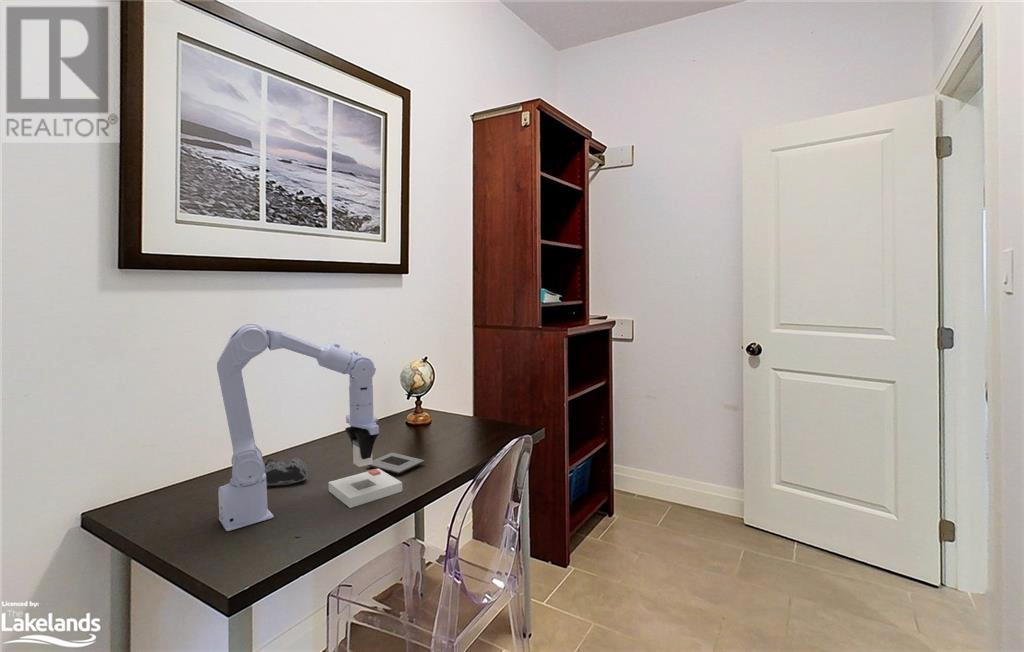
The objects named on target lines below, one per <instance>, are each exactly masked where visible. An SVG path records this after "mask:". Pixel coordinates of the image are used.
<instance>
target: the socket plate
mask: <svg viewBox="0 0 1024 652" xmlns="http://www.w3.org/2000/svg"><path fill="white" fill-rule="evenodd" d="M328 492H329V493H331V494H332V495H333V496H334V497H336V498H337V499H338V500H339V501H341V502H342V503H343V504H344V505H345V506H347V507H348V508H349V509H351V508H354V507H358V506H360V505H363V504H368V503H370V502H373V501H376V500H380V499H383V498H386V497H389V496H393V495H395V494H398V493H401V492H403V482H402V481H401V480H399V479H398V478H395V477H394V476H392V475H390V474H389V473H387V472H385V470H382V469H378V468H373V469H369V470H367V471H365V472H364V471H363V472H361V473H357V474H356V473H355V474H353V475H349V476H346V477H342V478H338V479H336V480H331V481H328Z"/></svg>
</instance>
